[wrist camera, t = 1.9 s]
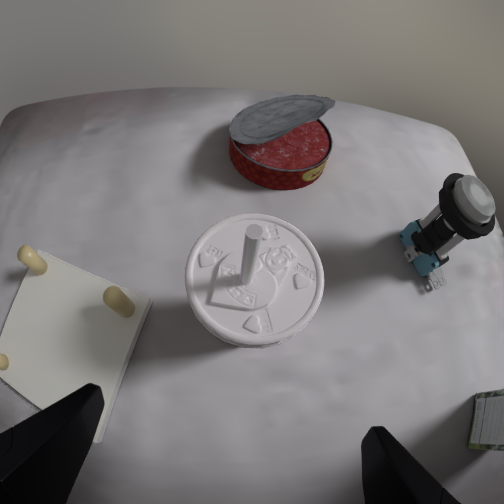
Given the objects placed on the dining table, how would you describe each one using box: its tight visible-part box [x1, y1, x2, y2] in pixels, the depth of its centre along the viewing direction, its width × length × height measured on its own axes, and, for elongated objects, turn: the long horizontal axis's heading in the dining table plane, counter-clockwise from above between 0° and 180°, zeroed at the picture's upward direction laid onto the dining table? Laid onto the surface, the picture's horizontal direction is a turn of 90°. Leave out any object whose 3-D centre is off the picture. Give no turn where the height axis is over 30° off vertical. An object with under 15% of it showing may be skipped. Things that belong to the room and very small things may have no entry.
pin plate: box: [0, 245, 153, 444], centre depth 18 cm, size 12×12×4 cm
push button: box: [399, 173, 495, 289], centre depth 21 cm, size 7×5×10 cm
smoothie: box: [185, 214, 324, 348], centre depth 16 cm, size 6×6×14 cm
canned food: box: [229, 95, 335, 190], centre depth 27 cm, size 11×10×10 cm
